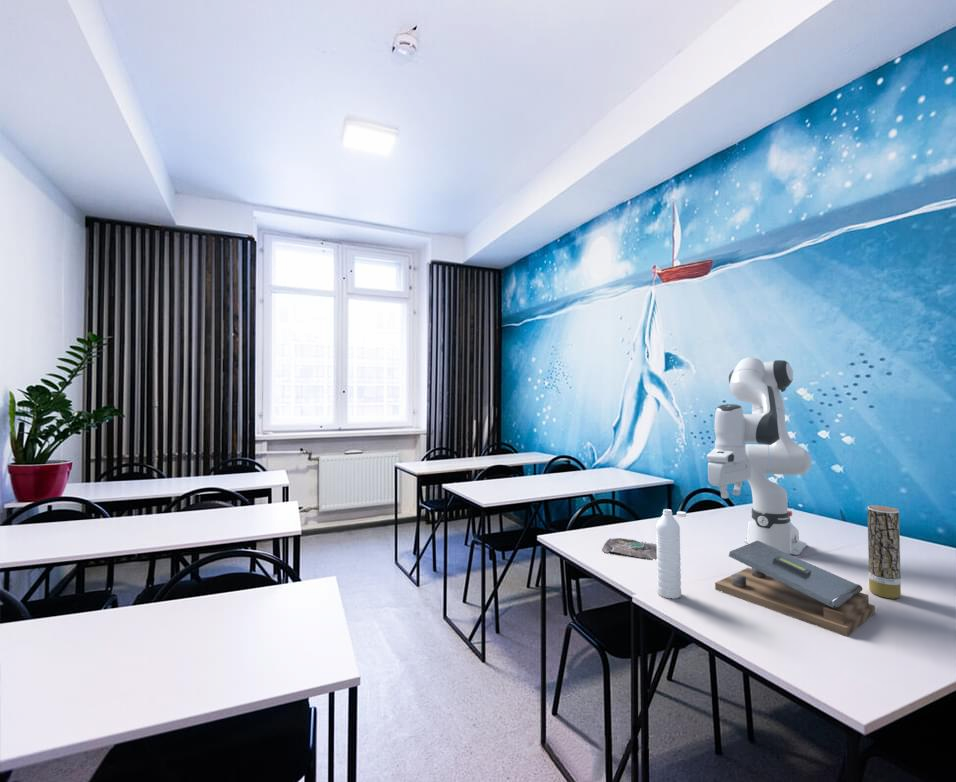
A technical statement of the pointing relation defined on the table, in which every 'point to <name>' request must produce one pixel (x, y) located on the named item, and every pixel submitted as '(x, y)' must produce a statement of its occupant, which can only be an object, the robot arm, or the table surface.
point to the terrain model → (631, 548)
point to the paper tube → (884, 551)
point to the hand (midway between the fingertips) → (730, 496)
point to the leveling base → (796, 601)
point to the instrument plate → (797, 573)
